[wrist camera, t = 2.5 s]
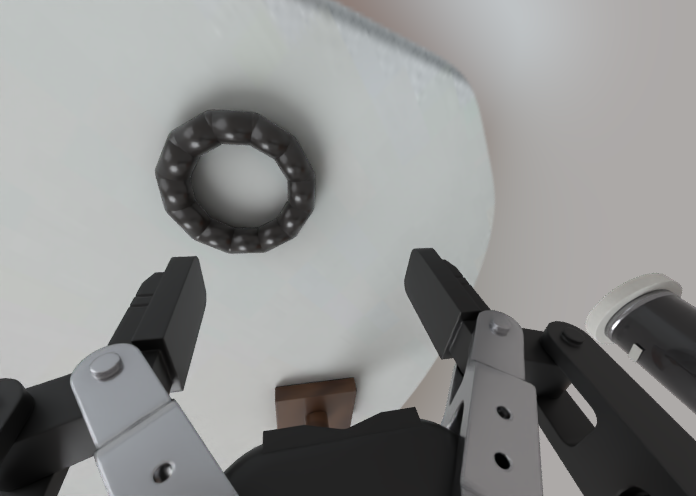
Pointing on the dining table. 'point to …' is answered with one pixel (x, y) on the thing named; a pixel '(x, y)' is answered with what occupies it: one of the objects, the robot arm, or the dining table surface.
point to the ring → (234, 130)
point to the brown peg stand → (316, 404)
